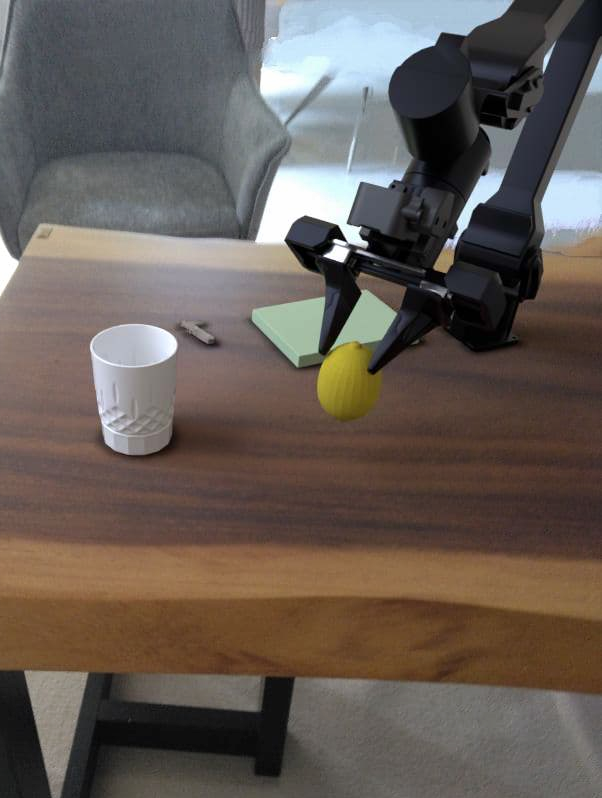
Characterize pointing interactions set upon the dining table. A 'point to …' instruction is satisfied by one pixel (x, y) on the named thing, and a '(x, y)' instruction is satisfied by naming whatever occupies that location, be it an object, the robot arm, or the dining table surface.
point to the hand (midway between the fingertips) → (344, 363)
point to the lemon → (348, 382)
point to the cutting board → (302, 324)
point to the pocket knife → (197, 331)
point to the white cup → (135, 386)
